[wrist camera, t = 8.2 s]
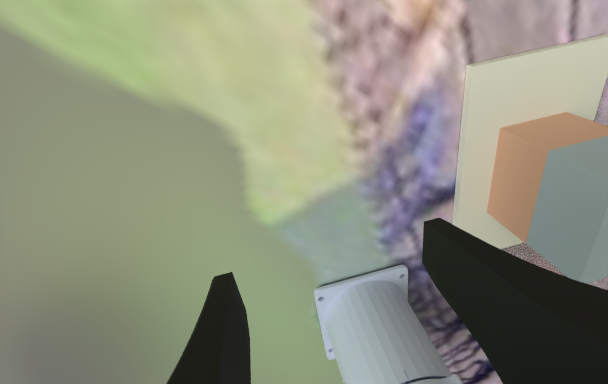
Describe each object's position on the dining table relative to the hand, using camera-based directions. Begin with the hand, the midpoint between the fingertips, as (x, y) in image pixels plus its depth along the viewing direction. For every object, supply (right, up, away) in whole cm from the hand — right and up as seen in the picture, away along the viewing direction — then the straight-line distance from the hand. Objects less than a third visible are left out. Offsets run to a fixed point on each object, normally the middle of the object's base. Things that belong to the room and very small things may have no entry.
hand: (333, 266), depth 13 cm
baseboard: (+15, +5, +13) cm, 20 cm away
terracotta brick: (+15, +5, +13) cm, 20 cm away
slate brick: (+16, +3, +9) cm, 19 cm away
